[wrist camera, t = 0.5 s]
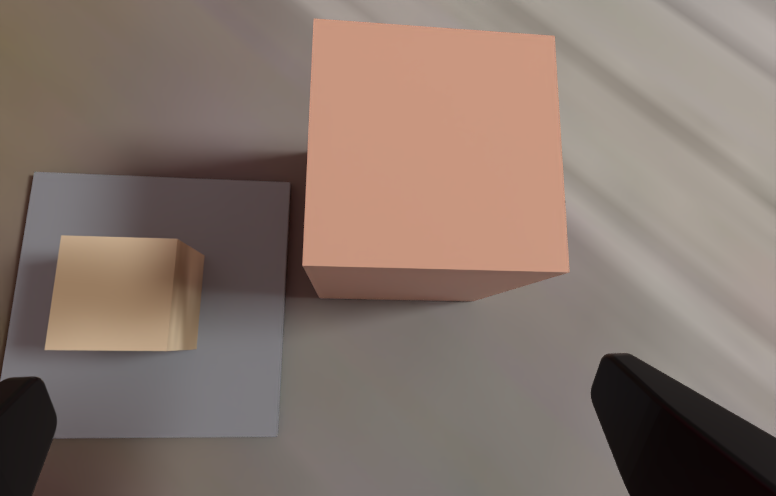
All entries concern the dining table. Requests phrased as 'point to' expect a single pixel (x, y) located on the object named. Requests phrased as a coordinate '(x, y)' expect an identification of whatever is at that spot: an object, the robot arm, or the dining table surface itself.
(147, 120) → the dining table surface
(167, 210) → the mat
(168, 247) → the block
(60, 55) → the dining table surface
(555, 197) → the salmon pink box
